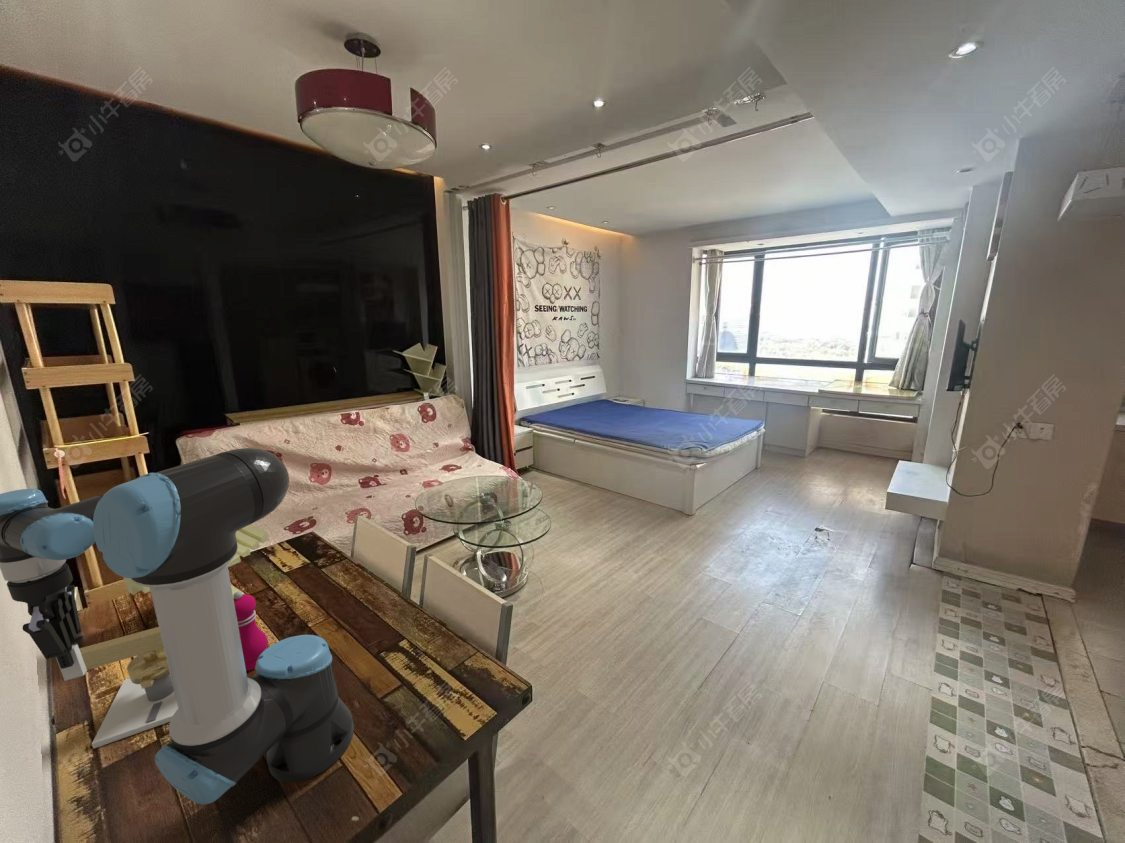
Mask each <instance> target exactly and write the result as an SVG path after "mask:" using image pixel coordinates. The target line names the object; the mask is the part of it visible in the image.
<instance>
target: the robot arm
mask: <svg viewBox="0 0 1125 843" xmlns="http://www.w3.org/2000/svg"><path fill="white" fill-rule="evenodd" d="M289 484H290V475H289V471H288V469H287V466H286V465H285V464H284V462H283V461H282V460H281V459H280V458H279V457H278V456H277V455H275V454H274V453H272V452H270V451H268V450H265V449H262V448H255V447H244V448H235V449H234V448H233V449H229V450H226V451H222V452H219V453H217V454H214V455H210V456H207V457H204V458H200V459H197V460H193V461H191V462H187V463H183V464H179V465H177V466H174V467H170V468H167V469H163V470H160V471H157V472H149V473H146V474H145V473H144V474H143V475H141V476H138V477H136V478H134V479H133V480H128V481H126V482H123V483H121V484H118V485H116V486H113V487H112V488H110V489H109V490H108V491H106V492H105V493H104V494H100V495H96V496H94V497H93V496H92V497H90V498H87V499H83V500H80V501H77V502H75V503H71V504H68V505H63V506H61V507H59V508H52V507H49V506H48V503H49V500H47V499H46V496H45V495H44V493H43V491H41V490H40V489H37V488H23V489H16V490H9V491H7V492H2V493H0V572H1V574H2V577H3V579H4V581H6V582H7V583H6V586H7V590H8V591H9V595H10V597H11V599H12V600H13V601H14V602H20V603H25V604H27V613H28V615H29V616H31V618H30V621H29V622H28V623H23V625H22V631H23V632H25V633H27V634H28V635H29V637H30V638H31V639H32V640H33V642H34V643H35V645H36V646H37V648H38V649H39V651H40V652H41V654H42V656H43V657H44V659H45V660H50V659H53V658H55V659H56V662H57V665H58V667H59V669H60V672H61V674H62V678H63V680H64V682H65V681H70V680H73V679H77V678H80V677H83V676H85V674H86V673H87V671H88V670H87V669H86V666H85V663H84V661H83V658H82V655H81V652H80V650H79V648H80V647H79V644H78V643H79V642H82V641H83V640H84V635H81V636H78V635H79V634H81V633H82V628H81V624H80V618H79V613H78V607H77V601H76V597H75V594H76V591H75V590H76V588H75V585H74V584H72V585H71V583H72V582H73V580H74V578H73V574H72V571H71V569H70V565H69V564H68V563H66V562H67V560H71V559H72V558H73V559H74V558H76V557H78V556H80V555H82V554H84V553H85V552H86V551H88V550H89V549H90V548H91V547H92V546H93V545H94V544H96V548H97V550H98V552H101V553H102V559H103V561H104V564H106V566H107V567H108V568H109V569H110V570H111V571H112V572H113V573H114V574H116V575H118V576H120V578H121V577H122V578H123V577H125V578H131V580H132V581H133V582H134V583H136V584H138V585H141V586H145V587H149V588H150V595H151V599H152V604H153V608H154V613H155V616H156V620H157V624H158V627H159V630H160V634H161V638H162V642H163V646H164V651H165V655H166V659H167V663H168V667H169V672H170V676H171V680H172V684H173V688H174V693H175V697H176V701H177V705H178V709H177V710H176V712H175V713H174V715H173V717H172V719H171V721H170V722H169V725H168V731H169V732H168V733H169V736H170V741H169V742H168V743H165V744H163V745H162V746H161V749H159V750H158V751H157V752H156V753H155V756H154V763H155V765H156V767H157V769H158V771H159V772H160V773H161V774H162V776H163V777H164V778H165V780H167V782H168V783H169V784H170V785H171V786H172V787H173V788H174V789H175V790H176V791H178V792H179V793H180V794H182V795H183V797H185V798H186V799H189V801H192V802H194V803H196V804H198V805H203V806H205V805H209V804H212V803H214V802H216V801H217V800H218V799H220V797H222V795H224V794H225V793H227V791H228V790H230V788H232V787H234V786H235V785H236V784H237V782H238V781H239V780H241V778H242V777H243V776H244V775H245V774H247V773H248V772H249V770H250V769H252V767H254V765H256V764H257V762H259V761H260V759H261V758H262V757H263V756H265V754H266V763H267V766H268V771H269V773H270V774H271V776H272V777H273V779H276V780H277V781H278V782H282V783H286V784H287V783H288V784H290V783H300V782H304V781H306V780H307V781H308V780H310V779H312V778H314V777H316V776H318V775H320V774H322V773H323V772H324V771H326V770H328V769H329V768H330V767H332V766H333V765H334V764H336V762H337V761H338V760H339V759H340V758H341V757H342V756H343V755H344V754H345V752H346V750H347V749H348V747H349V746H350V745H351V742H352V739H353V736H354V733H355V724H354V719H353V715H352V712H351V710H350V709H349V708H348V707H347V705H346V704H345V703H344V701H343V700H342V699H341V697H339V693H338V688H337V682H336V677H335V673H334V671H335V670H334V667H333V655H332V654H331V651H330V648H329V645H328V643H327V641H326V639H324V638H322V637H321V636H319V635H315V634H301V635H295V636H289V637H287V638H284V639H281V640H279V641H277V642H275V643H273V644H271V645H270V646H267V647H266V648H267V649H265V650H264V651H263V652H262V653H261V654H260V656H259V657H258V660H257V662H256V666H255V669H254V670H255V672H256V673H255V674H254V675H252V676H251V677H248V674H247V671H246V668H245V662H244V657H243V651H242V645H241V639H240V634H239V628H238V622H237V616H236V611H235V605H234V599H233V594H232V588H231V585H232V583H231V578H230V577H231V576H230V572H229V567H228V565H227V564H228V563H229V562H230V561H231V560H232V559H233V558H234V557H235V555H236V553H237V548H238V547H237V541H236V531H238V530H240V529H242V528H244V527H246V526H248V525H250V524H251V525H253V524H254V523H255V522H258V521H259V520H261V519H264V518H265V517H267V516H268V515H269V514H271V513H273V512H274V511H275V509H277V508H278V507H279V505H281V503H282V502H283V501H284V499H285V497H286V495H287V492H288V490H289V486H290V485H289Z"/></svg>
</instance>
